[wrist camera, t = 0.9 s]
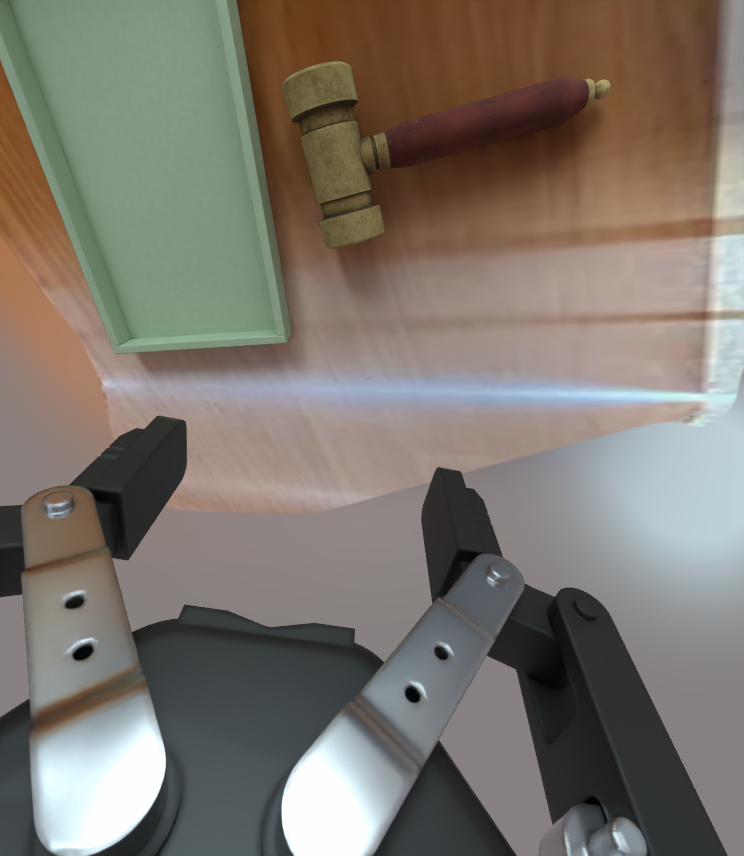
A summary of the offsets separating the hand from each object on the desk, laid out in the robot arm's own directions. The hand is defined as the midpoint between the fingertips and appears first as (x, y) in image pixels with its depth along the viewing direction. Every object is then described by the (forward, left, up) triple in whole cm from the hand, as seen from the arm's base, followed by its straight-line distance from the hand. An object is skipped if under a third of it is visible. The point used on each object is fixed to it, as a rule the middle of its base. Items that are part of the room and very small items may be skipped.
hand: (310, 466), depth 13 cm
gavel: (-11, +8, -26) cm, 29 cm away
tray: (-10, -13, -25) cm, 30 cm away
